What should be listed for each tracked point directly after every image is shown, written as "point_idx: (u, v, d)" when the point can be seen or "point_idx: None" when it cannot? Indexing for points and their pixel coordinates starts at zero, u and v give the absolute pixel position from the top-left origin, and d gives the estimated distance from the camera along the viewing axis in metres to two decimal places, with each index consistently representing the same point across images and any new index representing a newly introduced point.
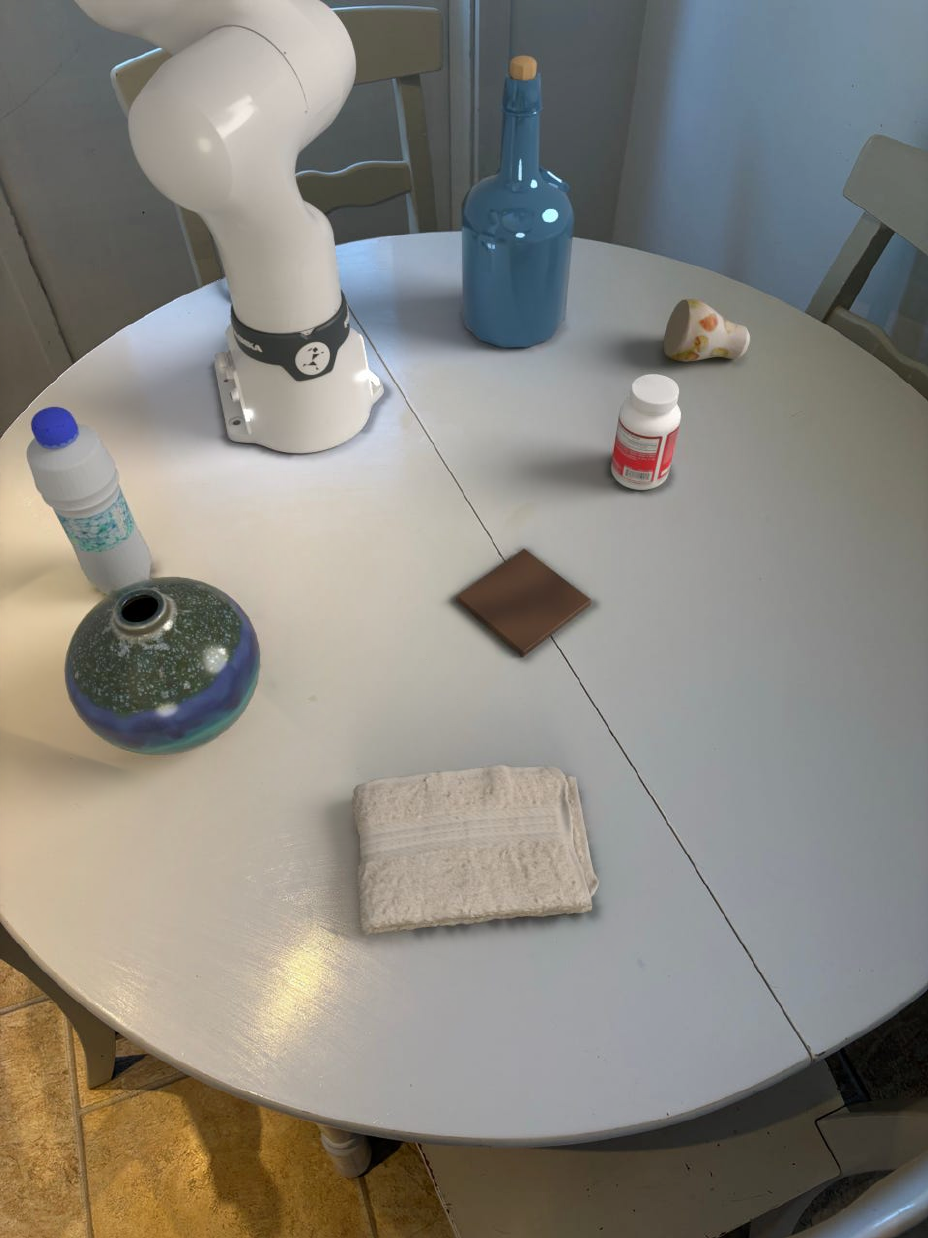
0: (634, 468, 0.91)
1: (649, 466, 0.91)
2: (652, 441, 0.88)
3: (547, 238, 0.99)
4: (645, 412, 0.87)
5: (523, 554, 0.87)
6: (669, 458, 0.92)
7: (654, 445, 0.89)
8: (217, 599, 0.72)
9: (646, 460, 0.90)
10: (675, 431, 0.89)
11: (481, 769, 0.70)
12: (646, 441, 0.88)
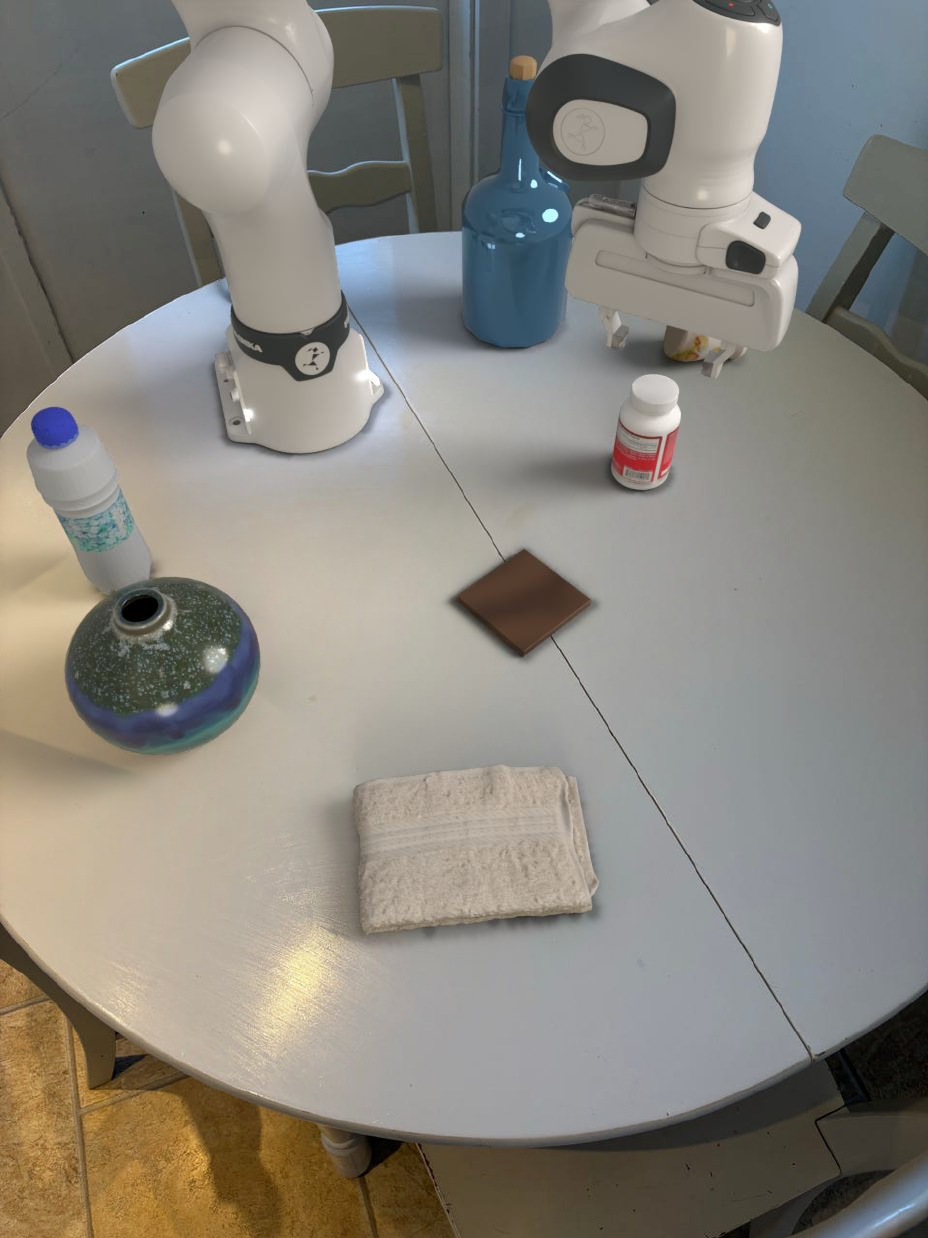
0: (634, 468, 0.91)
1: (649, 466, 0.91)
2: (652, 441, 0.88)
3: (547, 238, 0.99)
4: (645, 412, 0.87)
5: (523, 554, 0.87)
6: (669, 458, 0.92)
7: (654, 445, 0.89)
8: (217, 599, 0.72)
9: (646, 460, 0.90)
10: (675, 431, 0.89)
11: (481, 769, 0.70)
12: (646, 441, 0.88)
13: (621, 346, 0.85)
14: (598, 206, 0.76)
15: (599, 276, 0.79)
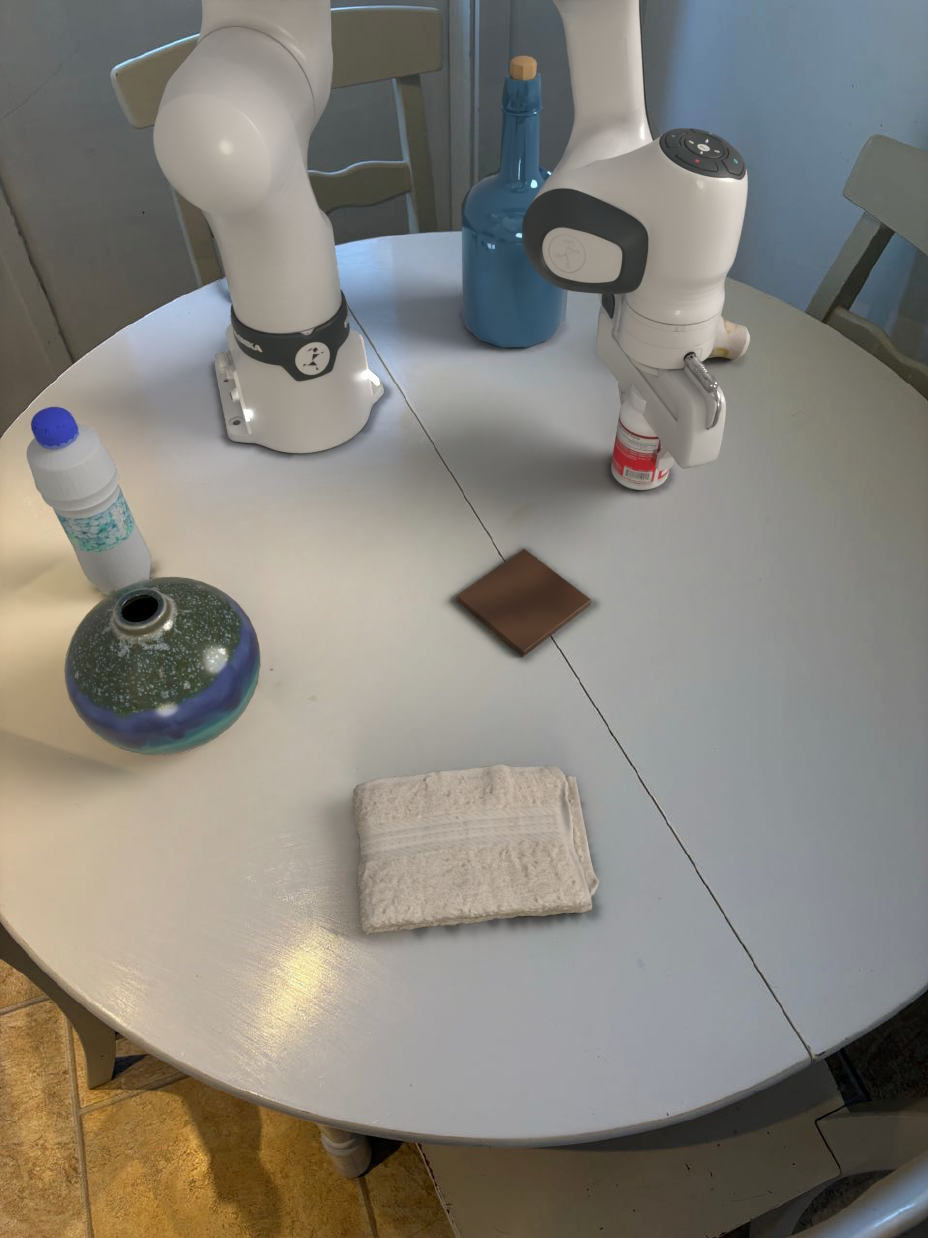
0: (634, 468, 0.91)
1: (650, 466, 0.91)
2: (652, 441, 0.88)
3: None
4: None
5: (523, 554, 0.87)
6: None
7: (654, 445, 0.89)
8: (217, 599, 0.72)
9: (646, 460, 0.90)
10: None
11: (481, 769, 0.70)
12: (646, 441, 0.88)
13: None
14: None
15: None
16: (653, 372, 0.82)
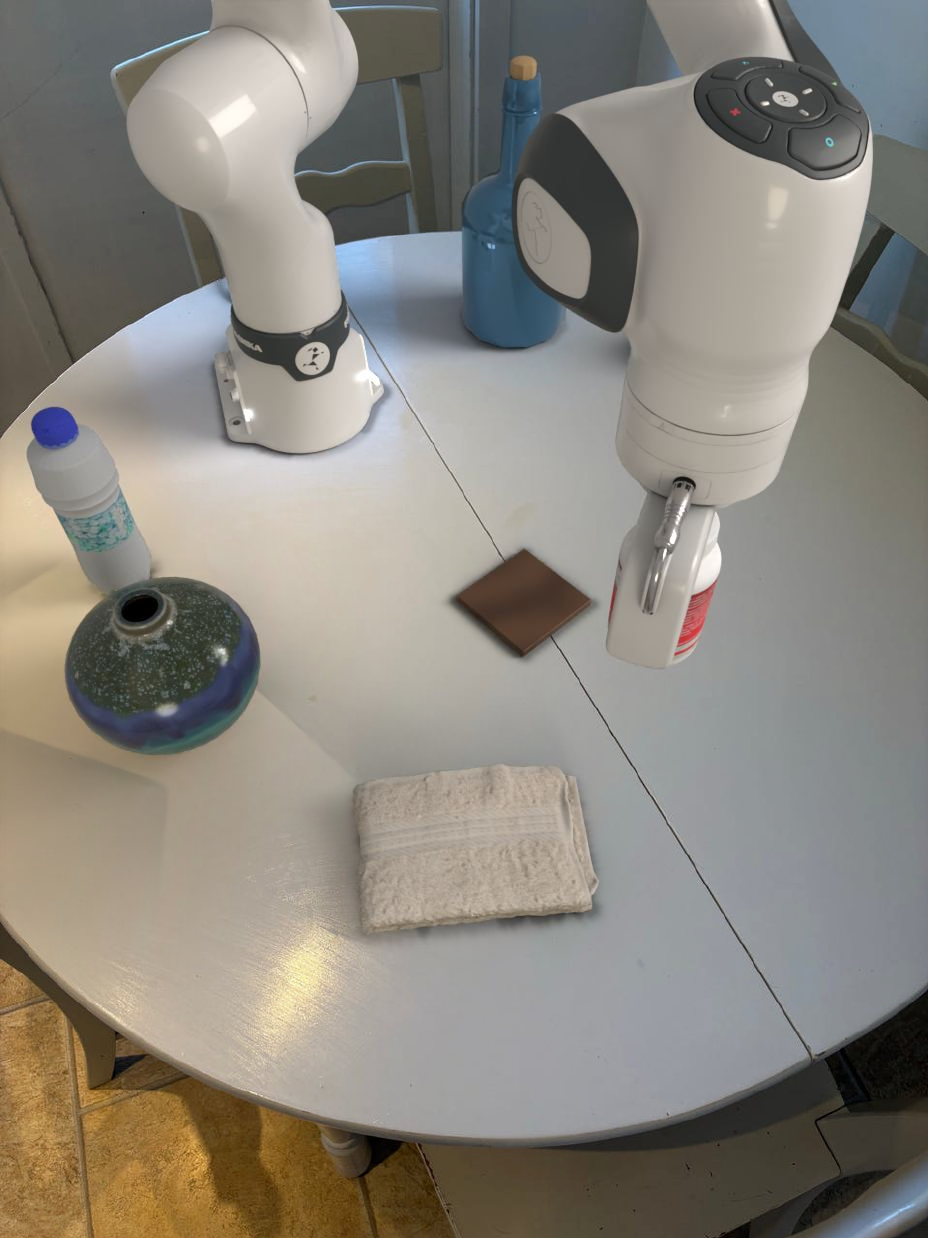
0: None
1: None
2: None
3: None
4: None
5: (523, 554, 0.87)
6: None
7: None
8: (217, 599, 0.72)
9: None
10: None
11: (481, 768, 0.70)
12: None
13: None
14: None
15: None
16: (644, 486, 0.48)
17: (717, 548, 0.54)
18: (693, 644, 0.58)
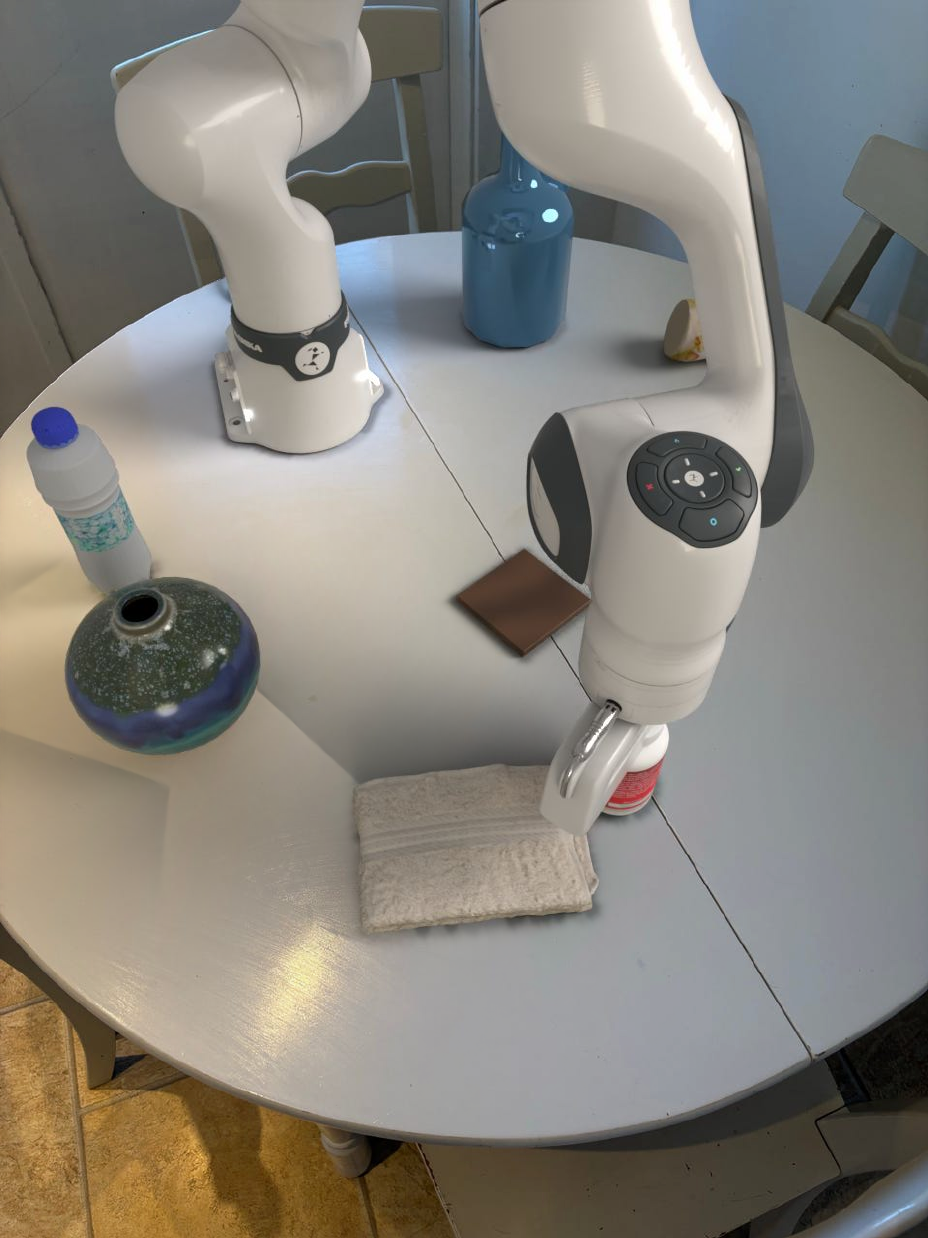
0: None
1: None
2: None
3: (547, 238, 0.99)
4: None
5: (523, 554, 0.87)
6: (622, 796, 0.68)
7: None
8: (217, 599, 0.72)
9: None
10: (629, 774, 0.65)
11: (481, 768, 0.71)
12: None
13: None
14: (593, 750, 0.55)
15: (610, 787, 0.60)
16: None
17: (665, 737, 0.65)
18: (641, 803, 0.70)
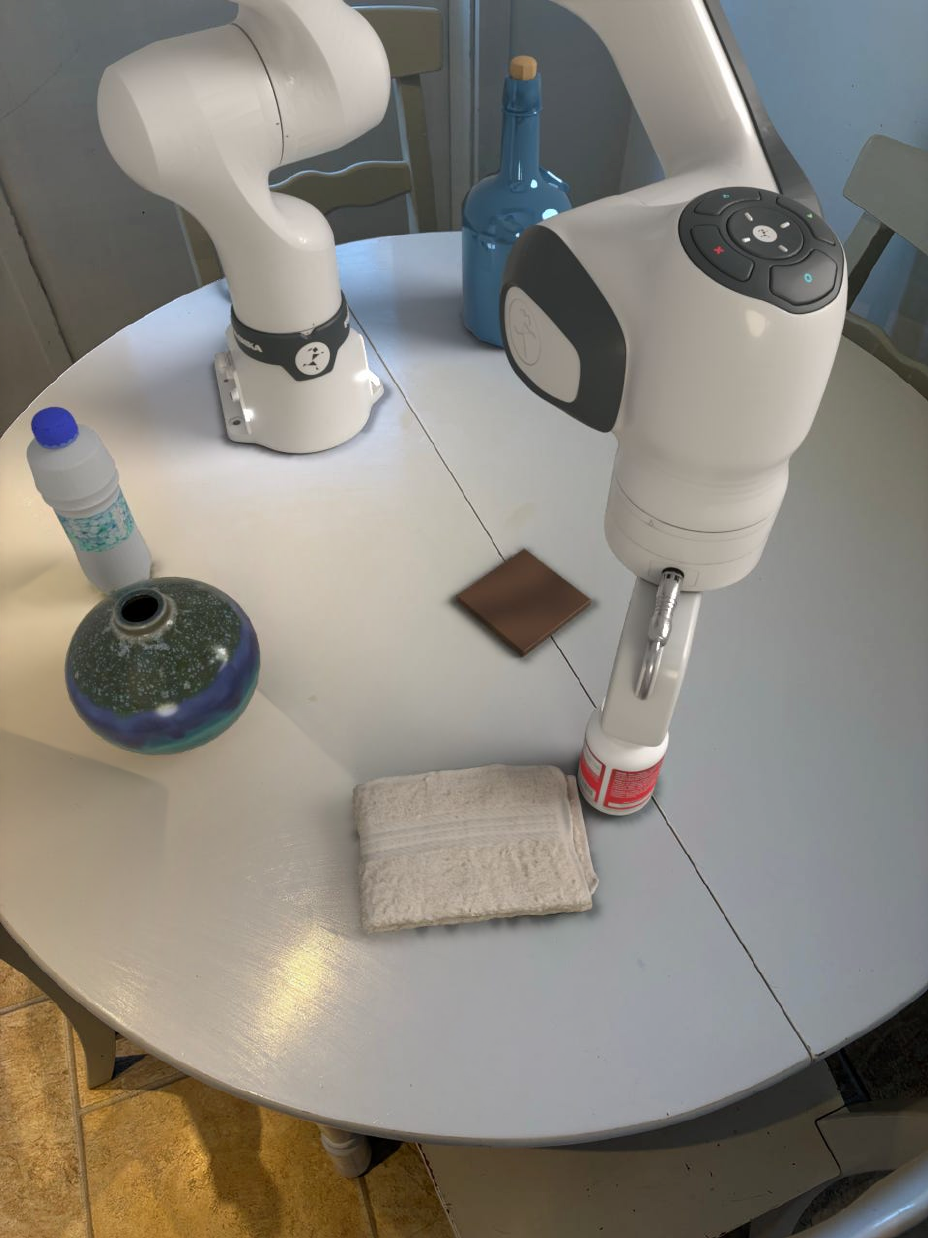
0: (582, 772, 0.70)
1: (592, 785, 0.69)
2: (594, 761, 0.66)
3: None
4: (600, 725, 0.65)
5: (523, 554, 0.87)
6: (622, 796, 0.68)
7: (597, 766, 0.66)
8: (217, 599, 0.72)
9: (589, 774, 0.68)
10: (629, 774, 0.65)
11: (481, 768, 0.71)
12: (590, 755, 0.66)
13: None
14: None
15: None
16: None
17: None
18: (640, 803, 0.70)
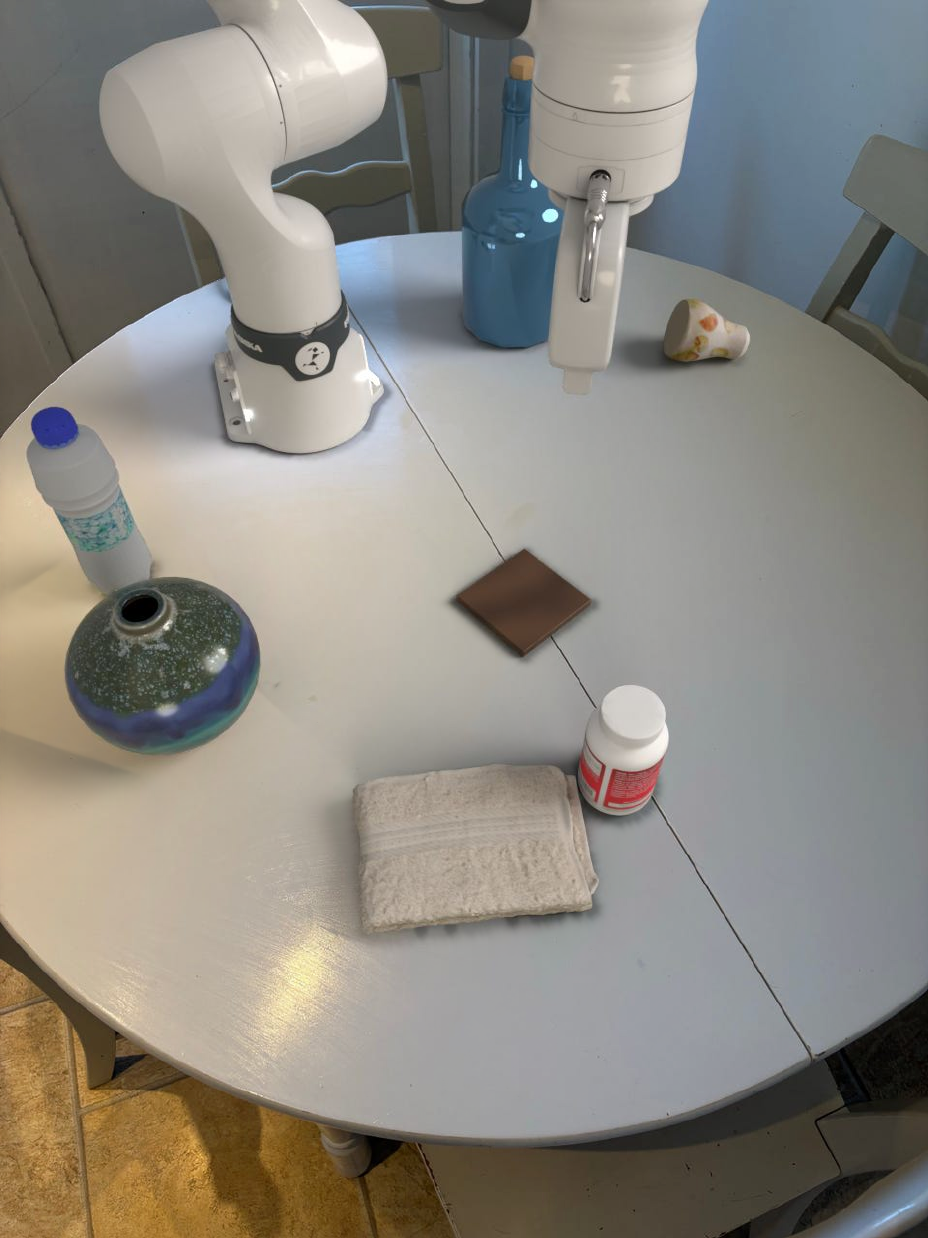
0: (582, 772, 0.70)
1: (592, 785, 0.69)
2: (594, 761, 0.66)
3: (547, 238, 0.99)
4: (600, 725, 0.65)
5: (523, 554, 0.87)
6: (622, 796, 0.68)
7: (597, 766, 0.66)
8: (217, 599, 0.72)
9: (589, 774, 0.68)
10: (629, 774, 0.65)
11: (481, 768, 0.71)
12: (590, 755, 0.66)
13: None
14: None
15: None
16: (561, 204, 0.51)
17: (664, 737, 0.65)
18: (640, 803, 0.70)
